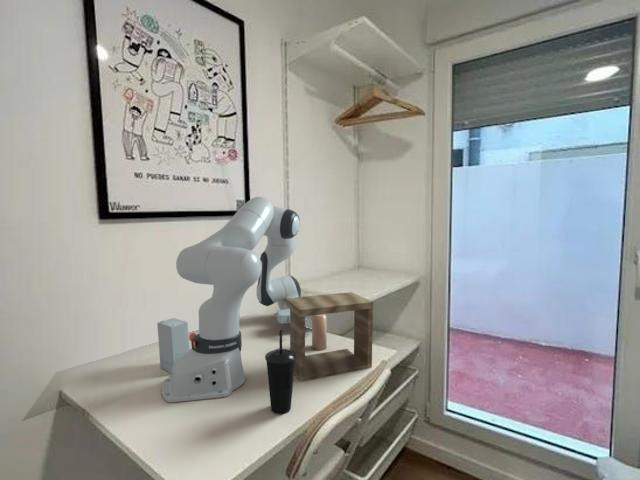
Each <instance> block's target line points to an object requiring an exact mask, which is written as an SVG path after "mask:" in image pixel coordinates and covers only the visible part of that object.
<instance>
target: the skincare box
mask: <svg viewBox="0 0 640 480" xmlns="http://www.w3.org/2000/svg"><path fill="white" fill-rule="evenodd" d="M156 325H157V338H158V349H159V350H158V351H159V364H160V366H159V367H160V369H163V370H165V371H166V372H169V373H170V374H171V371H172V368H173V365H174V363H175V362H176V361H177V360H178V359H179V358H181V357H182V356H183V355H184V354H185V353H187V352H188V351H189V350H190V340H189V325H188V321H186V320H182V319H179V318H175V317H171V318H168V319H164V320H161V321H158V322H157V323H156Z"/></svg>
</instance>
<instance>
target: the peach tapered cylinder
mask: <svg viewBox="0 0 640 480" xmlns="http://www.w3.org/2000/svg"><path fill="white" fill-rule="evenodd" d="M327 316H328V314H322V315H313V316H312V320H311V349H313V350H314V351H324V350H326V349H327V341H328V340H327V337H328V336H327V334H328V333H327Z"/></svg>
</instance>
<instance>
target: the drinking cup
mask: <svg viewBox="0 0 640 480" xmlns="http://www.w3.org/2000/svg"><path fill="white" fill-rule="evenodd" d="M278 331H279V333H278V335H279V336H278V337H279V338H278V339H279V348H277V349H274V350H271V351H269V352H266V354H265V356H264V358H265V361H266V371H267V379H268V390H269V399H270V400H269V401H270V411H271V412H272V413H273V414H276V415H284V414H287V413H289V412H290V411H291V407H292V398H293V388H294V387H293V386H294V377H295V376H294V375H295V374H294V367H295V359H296V353H295V352H293V351H291V350H290V349H287V348H283V330H282V329H279V330H278Z"/></svg>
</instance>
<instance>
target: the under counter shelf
mask: <svg viewBox="0 0 640 480" xmlns="http://www.w3.org/2000/svg"><path fill="white" fill-rule="evenodd" d="M285 305H286V306H287V307H289V308H290V323H289V326H290V327H289V350H291V351H293V352H295V353H296V359H295V367H294V375H295V376H294V377H296V378H297V380H298V381H299V382H305V381H310V380H316V379H321V378H326V377H331V376H335V375H340V374H346V373H351V372H354V371H355V372H356V371H361V370H366V369H371V368H373V366H372V365H373V333H374V332H373V330H374V329H373V323H374V322H373V320H374V319H373V318H374V301H372V300H370V299H368V298H366V297H363V296H361V295H359V294H357V293H354V292H352V291H349V292H348V291H347V292H339V293H330V294H329V293H327V294H320V295H309V296H306V295H305V296H300V297H296V298H286V299H285ZM345 312H353V313H354V314H353V315H354V317H353V320H354V322H353V323H354V324H353V327H354V328H353V352H352V351H350V349H348V348H343V349H337V350H332V351H326V352H321V353H320V352H318V353H315V354H308V355H306V321H305V316H313V315H322V314H326V315H329V314H336V313H345Z"/></svg>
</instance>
